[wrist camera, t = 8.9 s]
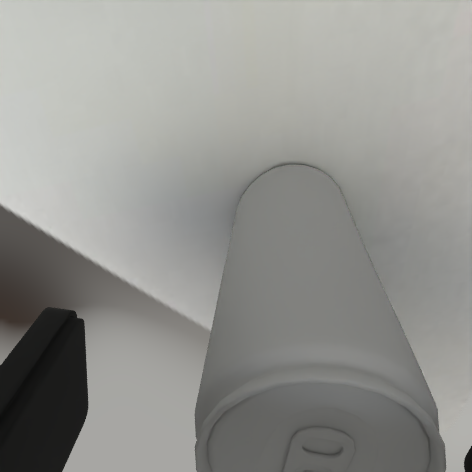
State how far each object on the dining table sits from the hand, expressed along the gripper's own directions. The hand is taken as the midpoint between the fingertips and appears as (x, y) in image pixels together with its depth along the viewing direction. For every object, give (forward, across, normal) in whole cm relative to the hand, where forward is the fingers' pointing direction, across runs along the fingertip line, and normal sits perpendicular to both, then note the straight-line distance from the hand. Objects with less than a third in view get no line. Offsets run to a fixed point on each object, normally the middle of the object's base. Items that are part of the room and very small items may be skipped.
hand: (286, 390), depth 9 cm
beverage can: (+10, -1, 0) cm, 10 cm away
